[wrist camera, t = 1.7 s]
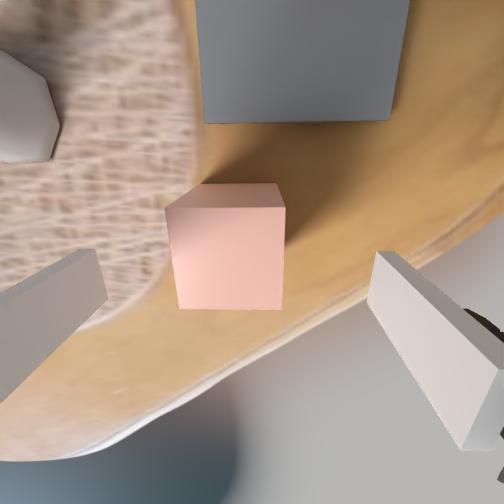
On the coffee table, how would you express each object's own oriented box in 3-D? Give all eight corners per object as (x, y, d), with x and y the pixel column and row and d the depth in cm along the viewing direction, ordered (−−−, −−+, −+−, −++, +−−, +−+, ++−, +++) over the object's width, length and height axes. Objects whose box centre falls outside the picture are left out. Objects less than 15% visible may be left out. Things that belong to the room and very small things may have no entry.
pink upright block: (206, 253, 22) (179, 308, 15) (200, 183, 20) (164, 208, 12) (274, 253, 22) (281, 309, 14) (276, 183, 20) (285, 207, 12)
